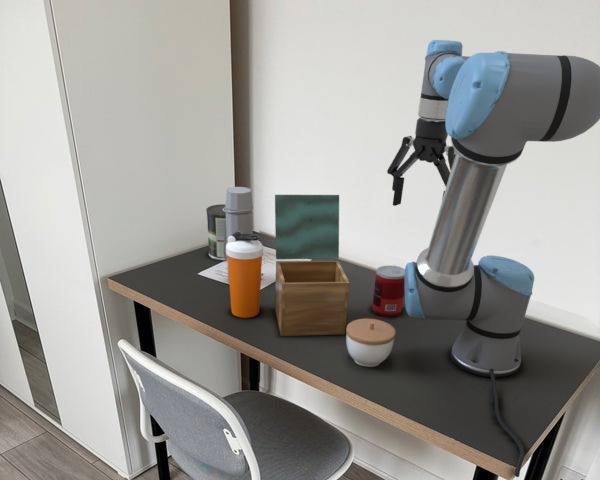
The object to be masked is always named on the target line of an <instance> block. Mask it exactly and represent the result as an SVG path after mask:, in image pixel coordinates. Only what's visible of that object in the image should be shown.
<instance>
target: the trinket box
mask: <svg viewBox="0 0 600 480" xmlns="http://www.w3.org/2000/svg"><path fill="white" fill-rule="evenodd" d="M396 333H397V332H396V329H395V327H394V326H393V325H392V324H390V323H389V322H386V321H384V320H380V319H375V318H358V319H354V320H352V321H350V322H349V323H348V324H346V327H345V343H346V344H345V345H346V350H347V352H348V354H349V356H350V357H351V358H352V359H353V361H354V363H355V364H357V365H359V366H361V367H367V368H374V367H378V366H379V365H380V364H381V363H382V362H384V361H385V360H386V359H387V358H388V357H389V355H391V352H392V350H393V348H394V343H395V338H396Z"/></svg>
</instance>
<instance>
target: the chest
mask: <svg viewBox="0 0 600 480" xmlns="http://www.w3.org/2000/svg"><path fill="white" fill-rule="evenodd" d="M350 283H351V282H350V281H349V279H348V277H347V275H346V273H345V271H344V269H343V267H342V265H341V262H340V261H339V260H276V261H275V295H274V296H275V298H274V300H275V301H274V302H275V303H274V304H275V305H274V312H275V316H276V320H277V321H276V322H277V325H278V329H279V333H280V337H292V336H293V337H296V336H297V337H298V336H299V337H300V336H333V335H335V336H336V335H337V336H339V335H346V328H347V316H348V305H349V296H350V295H349V294H350Z"/></svg>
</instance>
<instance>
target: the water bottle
mask: <svg viewBox="0 0 600 480" xmlns="http://www.w3.org/2000/svg"><path fill="white" fill-rule="evenodd" d="M252 194H253V193H252V189H251V188H249V187H244V186H232V187H228V188H226V191H225V208H223V211H224V212H226V218H225V234H224V250H223V251H224V259H225V260H224V261H226V264H227V266H226V267H228V259H227V258H226V251H225V250H226V233H227V243H228V237H229V236H230V235H232V234H233V233H235V232H236V231H240V232H241V233H242V234H254V232H253V231H254V230H253V229H254V224H253V221H254V219H253V218H254V217H253V216H254V213H253V210H254V206H253V205H254V203H253V195H252ZM224 209H225V210H224ZM227 280H228V281H229V272H228V271H227Z"/></svg>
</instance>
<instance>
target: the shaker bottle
mask: <svg viewBox="0 0 600 480" xmlns="http://www.w3.org/2000/svg"><path fill="white" fill-rule="evenodd" d="M259 239H260V235H258V234H256V233H255V234H254V233H253V234H242V233H241V232H240V231H236V232H235V233H233V234H232V235H230V236H229V237H228V243H227V245H226V254H227V259H228V266H227V273H228V272H229V280H228V285H229V296H230V310H231V314H232V315H233V316H235V317H237V318H241V319H248V318H254V317H256V316H258V315H259V313H260V305H261V303H260V302H261V284H262V283H261V282H262V267H263V265H262V263H263V256H264V245H263V243H262V242H261V241H260V240H259Z"/></svg>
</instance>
